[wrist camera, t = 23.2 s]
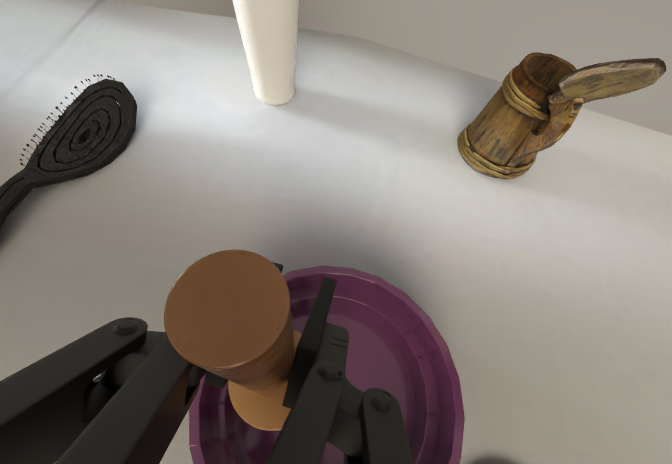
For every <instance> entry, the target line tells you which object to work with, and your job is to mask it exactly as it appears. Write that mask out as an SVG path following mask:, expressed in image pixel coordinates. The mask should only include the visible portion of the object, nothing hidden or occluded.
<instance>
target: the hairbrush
mask: <svg viewBox="0 0 672 464" xmlns="http://www.w3.org/2000/svg"><path fill="white" fill-rule="evenodd" d="M97 75H98V74H97ZM93 76H94V77H95V75H94V74H93ZM101 76H102V75H101ZM98 77H99V75H98ZM102 77H103V76H102ZM107 77H108V78H109V77H110V76H107ZM110 78H111V77H110ZM111 79H112V78H111ZM113 79H114V78H113ZM113 79H112V80H109V79H104V80H102V81H100V82H97V83H95V84H93V83H92V82H91V81H90V80H89V79H88V80H89V81H90V82H91V83H92V85H91V84H90V83H89V82H88V81H87V80H86V79H85V80H86V81H87V82H88V83H89V84H90V86H88V87H87V88H86V89H83V90H84V91H83V92H82V93H81V94H80V95H79V96H78V97H76V100H74V99H73V101H74V102H73V103H72V104H71V105H68V106H69V107H67V106H66V108H67V109H66V110H63V111H65V112H64V113H62V112H61V111H60V112H61V113H62V115H61V116H60V115H59V116H58V117H59V119H58V120H57V121H55V124H54V125H53V126H50V127H51V129H50V130H49V131H48V132H47V131H46V132H47V134H45V133H44V134H45V136H43V139H41V138H40V139H41V140H42V141H41V142H39V143H40V144H39V145H36V146H37V147H36V149H34V152H33V154H31V155H32V156H31V157H30V159H29V161H28V163H26V164H27V165H26V167H25V168H24V169H23V170H21V171H20V172H19V173H17V174H16V175H14V176H13V177H12V178H10V179H9V180H8V181H7V182H6V183H4V184H3V185H2V186H1V187H0V230H1V228H2V226H3V224H4V222H5V220H6V218H7V217H8V216H9V214H10V213H11V212H12V211H13V210H14V209H15V208H16V207H17V206H18V205H19V204H20V202H21V201H22V200H23V199H24V198H25V197H26V196H27V195H28V194H29V193H30V192H31V191H32V189H35V188H39V187H43V186H47V185H51V184H55V183H60V182H64V181H67V180H71V179H75V178H79V177H83V176H87V175H89V174H91V173H93V172H95V171H97V170H99V169H101V168H103V167H104V166H106V165H108V164H110V163H111V162H112V161H113V160H114V159H115V158H116V157H117V156H119V155H120V154H121V153H122V152H123V151H124V150H125V149H126V147H127V145H128V143H129V141H130V139H131V137H132V135H133V133H134V131H135V126H136V113H137V104H136V102H135V100H134V97H133V96H132V94H131V93H130V92H129V90H128V89H127V88H126V87H125V85H124V84H123V83H122V82H118V81H116V80H115V79H114V80H115V81H114V80H113ZM81 83H83V82H82V81H81ZM74 88H75V89H76V88H77V87H76V86H75V87H74ZM71 94H73V93H72V92H71ZM65 98H66V99H67V97H65ZM116 101H117V102H118V103H119V105H120V106H119V105H118V104H117V103H116ZM61 104H62V102H61ZM56 107H57V106H56ZM56 107H55V108H56ZM56 109H59V108H58V107H57V108H56ZM59 110H60V109H59ZM51 114H53V113H51ZM108 114H109V115H110V116H109V115H108ZM48 117H49V116H48ZM55 117H56V116H55ZM49 118H50V117H49ZM50 119H51V118H50ZM47 120H48V118H47ZM49 121H50V120H49ZM42 124H43V123H42ZM43 125H45V124H43ZM40 127H41V128H42V126H40ZM47 128H48V127H47ZM38 130H40V129H38ZM44 130H45V129H44ZM40 131H41V130H40ZM41 132H42V131H41ZM34 135H35V136H37V135H36V134H34ZM34 135H33V137H35V136H34ZM88 136H89V138H88V141H86V142H84V141H85V139H86V138H87V137H88ZM37 137H38V136H37ZM31 141H33V140H32V139H31ZM33 142H34V141H33ZM35 143H36V142H35ZM36 144H37V143H36ZM27 146H28V147H29V144H27ZM30 147H31V146H30ZM23 149H24V148H23ZM31 149H32V147H31ZM24 150H25V151H26V149H24ZM27 152H28V151H27ZM21 155H22V156H24V155H23V154H21ZM20 160H21V161H22V159H20ZM58 162H59V163H58ZM20 164H21V165H23V164H22V163H20ZM24 166H25V165H24ZM43 169H44V170H45V171H46V172H44V171H43Z"/></svg>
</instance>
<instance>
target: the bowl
mask: <svg viewBox="0 0 672 464" xmlns="http://www.w3.org/2000/svg"><path fill="white" fill-rule="evenodd" d="M283 277H284V279H285V281H286V283H287V286H288V290H289V295H290V305H291V314H292V324H293V330H294V331H297V332H299V333H301V334H302V332H303V329H304V327H305V324H306V322H307V319H308V317H309V314H310V312H311V309H312V306H313V304H314V301H315V299H316V296H317V294H318V291H319V288H320V286H321V283H322V281H323V278H324V277H327V278H330V279H334V280H337V283H336V287H335V290H334V294H333V298H332V301H331V305H330V309H329V312H328V316H327V320H326V322H328V323H331V324H335V325H338V326H342V327H345V328H347V331H348V333H349V335H350V336H349V344H348V352H347V359H346V367H345V373H346V377H347V379H348V380H349V382H350V383H351V384H352V385H353V386H355V387H356V388H358V389H359V390H361V391H363V392H365V391H366V390H367V389H370V388H381V389H383V390H386V391H388V392H389V393H391V394H392V395H393V396H394V397H395V398H396V399H397V401H398V403H399V405H400V409H401V413H402V417H403V421H404V425H405V429H406V433H407V437H408V442H409V446H410V450H411V454H412V458H413V462H414V464H459V463H460V459H461V451H462V441H463V430H464V420H465V419H464V410H463V402H462V395H461V387H460V380H459V376H458V374H457V371H456V368H455V366H454V363H453V360H452V357H451V355H450V352H449V349H448V346H447V344H446V343H445V341H444V339H443V338H442V336H441V335H440V333H439V332H438V330H437V329H436V327H435V325H434V324H433V322H432V321H431V319H430V318H429V316H428V315H427V314H426V313H425V312H424V311H423V310H422V309H421V308H420V307H419V306H418V305H417V304H416V303H415V302H414V301H413V300H412V299H411V298H410V297H409V296H408V295H407V294H405V293H404V292H403V291H401V290H399V289H398V288H396V287H395V286H393V285H391V284H390V283H388V282H386V281H385V280H383V279H381V278H379V277H377V276H374V275H371V274H368V273H365V272H361V271H358V270H355V269H351V268H342V267H329V266H319V267H313V268H307V269H301V270H295V271H292V272H289V273H287V274H285V275H283ZM206 373H207V372H206ZM206 373H205V375H204V376H203V377H202V379H201V380H200V386H199V390H198V393H197V394H196V396H195V398H194V400H193V402H192V404H191V406H190V407H189V446H190V452H191V455H192V459H193V463H194V464H264V463H265V461H266V459H267V457H268V455H269V453H270V451H271V449H272V447H273V445H274V443H275V441H276V439H277V437H278V435H279V433H280V431H281V430H277V431H268V430H262V429H258V428H256V427H253V426H251V425H250V424H248V423H247V422H245V421H244V420H243V419H242V418H241V417H240V416H239V414H238V413H237V412H236V410H235V408H234V407H233V404H232V402H231V399H230V395H229V389H228V382H227V384H226V385H225V387H224V389H223V388H220V387H217V386H213V385H210V384H207V383H205V379H206ZM320 464H344V452H342V451H341V450H339V449H338V448H336V447H335V446H333V445H332V444H330V443H329V442H326V445H325V448H324V452H323V455H322V458H321V462H320Z"/></svg>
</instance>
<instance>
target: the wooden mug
mask: <svg viewBox="0 0 672 464" xmlns="http://www.w3.org/2000/svg"><path fill="white" fill-rule="evenodd" d="M665 71H666V65H665V63H664V61H662V60H660V59H659V58H648V59H632V60H621V61H613V62H606V63H599V64H595V65H591V66H587V67H584V68H581V69H578V70H577V69H576V68H575V67H574V66H573V65H572V64H570V63H569V62H567V61H565V60H563V59H561V58H559V57H557V56H554V55H552V54H543V53H531V54H528V55H527V56H526V57H525V58H524V59H523V60H522V62H521V63H520V64H519V65H518V66H516V67H515V68H513V69H512V70H511V71H510V72H509V74H508V75H507V76H506V77H505V79H504V81H503V83H502V86H501V87H500V89H499V90H498V91H497V93H496V94H495V95H494V96H493V98H492V99H491V100H490V101H489V102H488V104H487V105H486V106H485V107H484V109H483V110H482V111H481V112H480V114H479V115H478V116H477V117H476V119H475V120H474V121H473V122H472V123H471V124H469V125H468V126H467V127H466V129H465V130H464V131H463V132H462V133H461V135H460V136H459V138H458V147H459V150H460V153H461V155H462V156H463V158H464V159H465V160H466V162H467V163H468V164H469V165H470V166H471V167H472V168H474V169H475V170H476V171H478V172H480V173H483V174H485V175H487V176H491V177H494V178H504V179H511V178H516V177H518V176H521V175H523V174H524V173H525V172H526V171H528V170H529V168H530V167H531V166H532V164H533V163H534V162H535V159H536V154H537V153H538V152H539V151H542V150H544V149H546V148H548V147H551V146H552V145H553V144H555V143H556V142H557V141H558V140H560V139H561V138H562V137H563V135H564V134H565V133H566V132H567V131H568V129H569V128H570V127H571V125H572V123H573V122H574V120H575V118H576V117H577V115H578V113H579V110H580V108H581V106H582V104H583V103H586V102H590V101H593V100H598V99H604V98H610V97H615V96H619V95H623V94H626V93H630V92H633V91H636V90H639V89H642V88H645V87H647V86H650V85H652V84H654V83H655V82H656V81H657V80H658V79H659V78H660V77H661V76H662V75H663V74H664V73H665Z"/></svg>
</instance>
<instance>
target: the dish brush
mask: <svg viewBox="0 0 672 464" xmlns="http://www.w3.org/2000/svg"><path fill="white" fill-rule="evenodd" d="M164 325H165V330H166V334H167V337H168V339H169V341H170V343H171V345H172V347H173V348H174V349H175V350H176V352H177V353H178V354H179V355H180V356H181V357H182V358H184V359H185V360H187V361H188V362H190V363H192V364H194V365H196V366H198V367H200V368H203V369H205V370H207V371H209V372H212V373H214V374H216V375H218V376H220V377H223V378H225V379H227V380H229V381H228V389H229V395H230V399H231V402H232V404H233V407H234V408H235V410H236V412H237V413H238V414H239V416H240V417H241V418H242V419H243V420H244V421H245V422H247V423H248V424H250V425H251V426H253V427H256V428H258V429H262V430H268V431H277V430H281V429H282V427H283V424H284V422H285V420H286V418H287V416H288V414H289V412H290V410H291V409H290V408H287V407H284V406H282V404H283V400H284V396H285V392H286V388H287V384H288V380H289V376H290V372H291V370H292V367H293V364H294V359H295V352H296V348H297V345H298V342H299V340H300V337H301V335H302V334H301V333H299V332H297V331H294V330H293V324H292V314H291V305H290V295H289V290H288V286H287V283H286V281H285V279H284V277H283V275H282V273H281V272H280V271H279V269H278V268H277V267H276V266H275V265H274V264H273V263H272V262H270V261H269V260H268V259H266V258H264V257H263V256H261V255H258V254H256V253H253V252H249V251H244V250H225V251H220V252H216V253H213V254H210V255H208V256H206V257H203V258H201V259H200V260H198V261H196V262H195V263H194V264H192V265H191V266H189V267H188V268H187V269H186V270H185V271H184V272H183V273H182V274H181V275H180V277H179V278H178V279H177V280H176V282H175V283H174V285H173V287H172V289H171V291H170V292H169V295H168V298H167V301H166V305H165V311H164Z"/></svg>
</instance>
